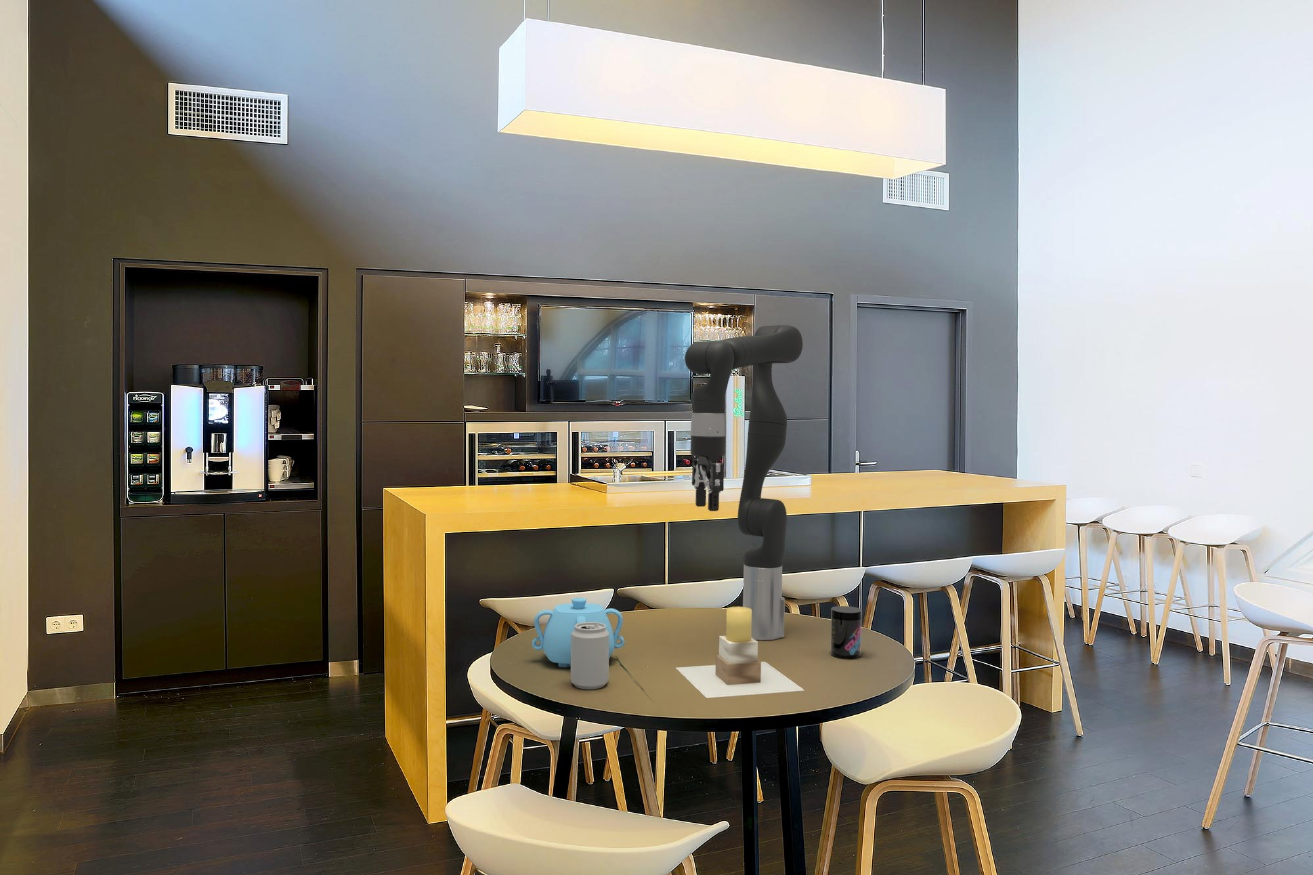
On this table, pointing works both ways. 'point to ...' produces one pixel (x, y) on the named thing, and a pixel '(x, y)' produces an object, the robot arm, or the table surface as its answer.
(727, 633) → the cylinder
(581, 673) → the can
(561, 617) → the decorative pot
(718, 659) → the bottom block
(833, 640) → the supplement container
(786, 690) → the board
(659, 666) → the table surface
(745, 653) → the top block
